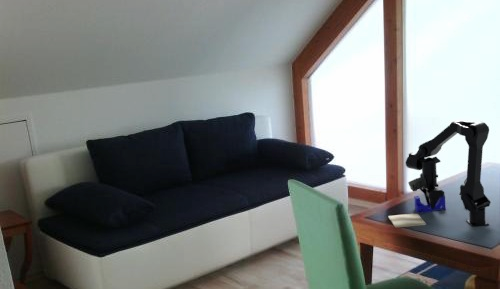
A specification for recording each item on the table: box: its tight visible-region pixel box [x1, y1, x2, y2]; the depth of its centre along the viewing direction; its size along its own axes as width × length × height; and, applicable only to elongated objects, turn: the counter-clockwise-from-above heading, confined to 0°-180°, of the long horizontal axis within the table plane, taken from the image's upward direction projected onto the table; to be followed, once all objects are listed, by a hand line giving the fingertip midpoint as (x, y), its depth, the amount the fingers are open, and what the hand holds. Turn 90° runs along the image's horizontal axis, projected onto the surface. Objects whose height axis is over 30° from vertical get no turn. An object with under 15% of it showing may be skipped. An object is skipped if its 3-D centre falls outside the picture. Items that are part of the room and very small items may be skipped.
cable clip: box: [414, 194, 446, 214], centre depth 219 cm, size 12×4×6 cm, turn 87°
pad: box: [387, 212, 427, 229], centre depth 210 cm, size 12×12×1 cm
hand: (430, 207), depth 219 cm, fingers closed on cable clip, 5 cm apart
